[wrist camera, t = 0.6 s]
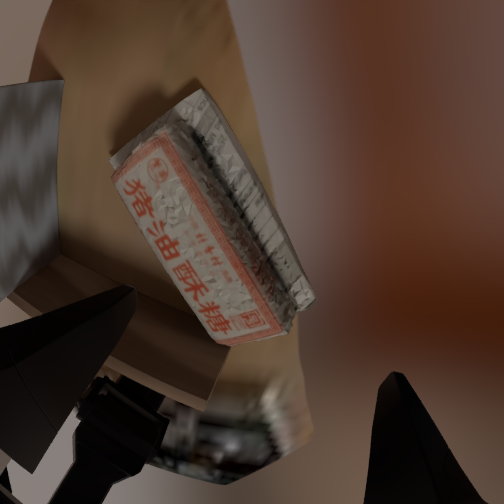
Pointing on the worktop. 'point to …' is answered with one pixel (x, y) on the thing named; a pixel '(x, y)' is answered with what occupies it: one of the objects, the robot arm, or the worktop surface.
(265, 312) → the packaged product
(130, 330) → the brown piece
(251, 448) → the worktop surface
